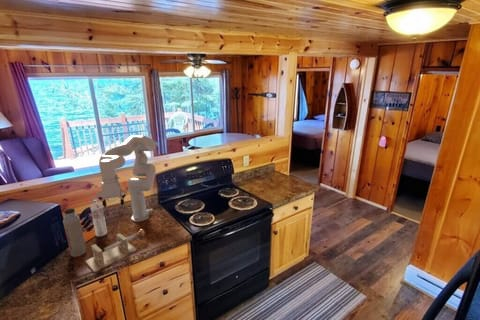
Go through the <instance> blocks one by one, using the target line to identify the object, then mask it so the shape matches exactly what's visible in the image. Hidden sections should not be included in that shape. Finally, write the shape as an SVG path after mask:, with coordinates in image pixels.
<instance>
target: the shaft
mask: <svg viewBox="0 0 480 320" xmlns="http://www.w3.org/2000/svg"><path fill="white" fill-rule="evenodd" d="M145 235H146V231H145V230H144V228H140V229H139V230H138V231H137V232H135V233H134V234H131V235H129V236H126V238H127V242H128V243H129V242H130V241H131V240H134V239H136V238H138V237H139V236H141V237H144V236H145ZM121 244H122V241H118V242H117V241H116V242H115V243H112V244H110V245H108V246H106V247H103V250H104V252H107V251H109V250H111V249H113V248H115V247H117V246H119V245H121Z"/></svg>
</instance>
